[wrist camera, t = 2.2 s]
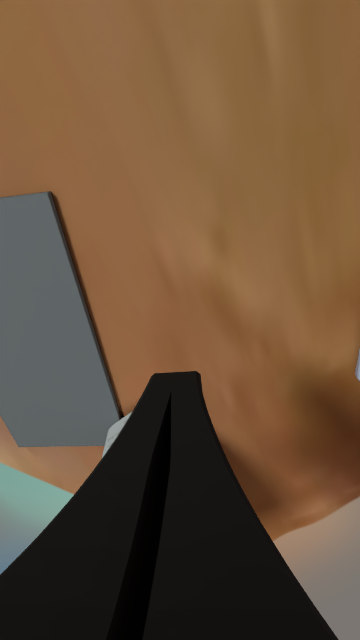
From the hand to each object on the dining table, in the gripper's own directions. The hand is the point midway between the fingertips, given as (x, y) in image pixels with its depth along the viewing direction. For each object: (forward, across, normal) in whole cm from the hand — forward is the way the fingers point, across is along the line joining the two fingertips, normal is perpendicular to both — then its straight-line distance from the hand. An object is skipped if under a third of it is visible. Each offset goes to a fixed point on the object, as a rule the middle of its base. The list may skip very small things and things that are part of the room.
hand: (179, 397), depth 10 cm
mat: (+11, +11, +5) cm, 17 cm away
